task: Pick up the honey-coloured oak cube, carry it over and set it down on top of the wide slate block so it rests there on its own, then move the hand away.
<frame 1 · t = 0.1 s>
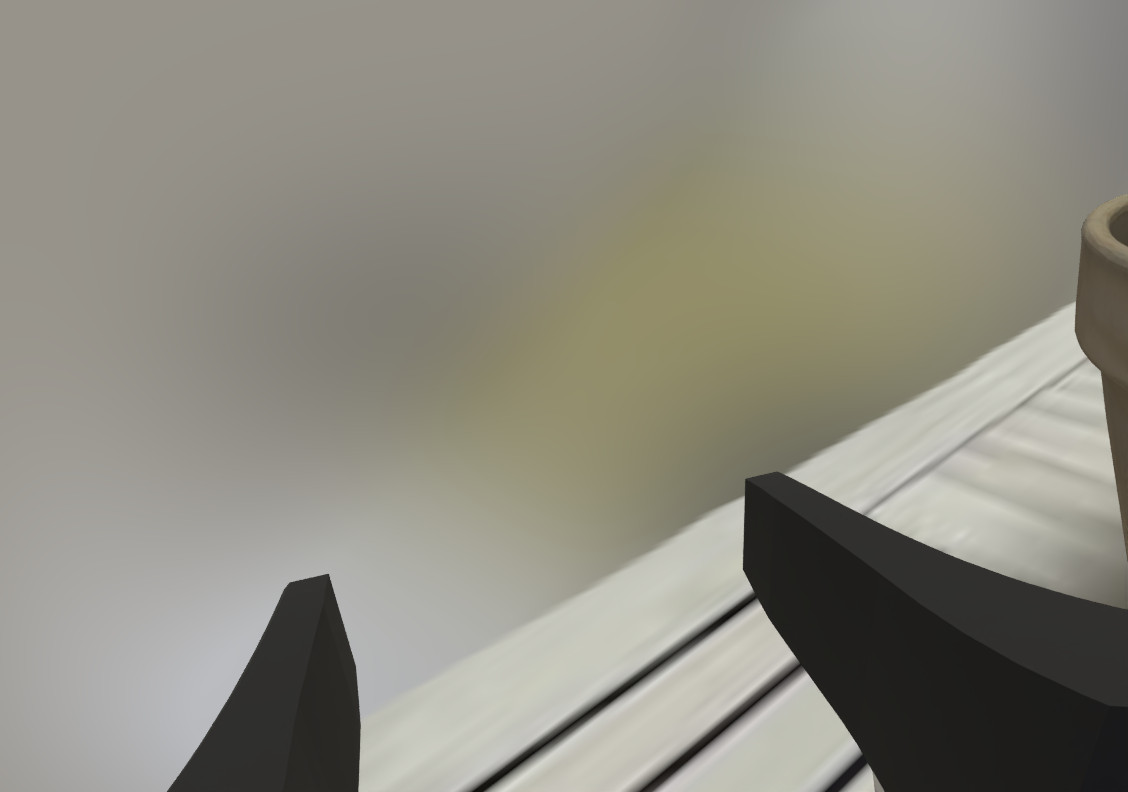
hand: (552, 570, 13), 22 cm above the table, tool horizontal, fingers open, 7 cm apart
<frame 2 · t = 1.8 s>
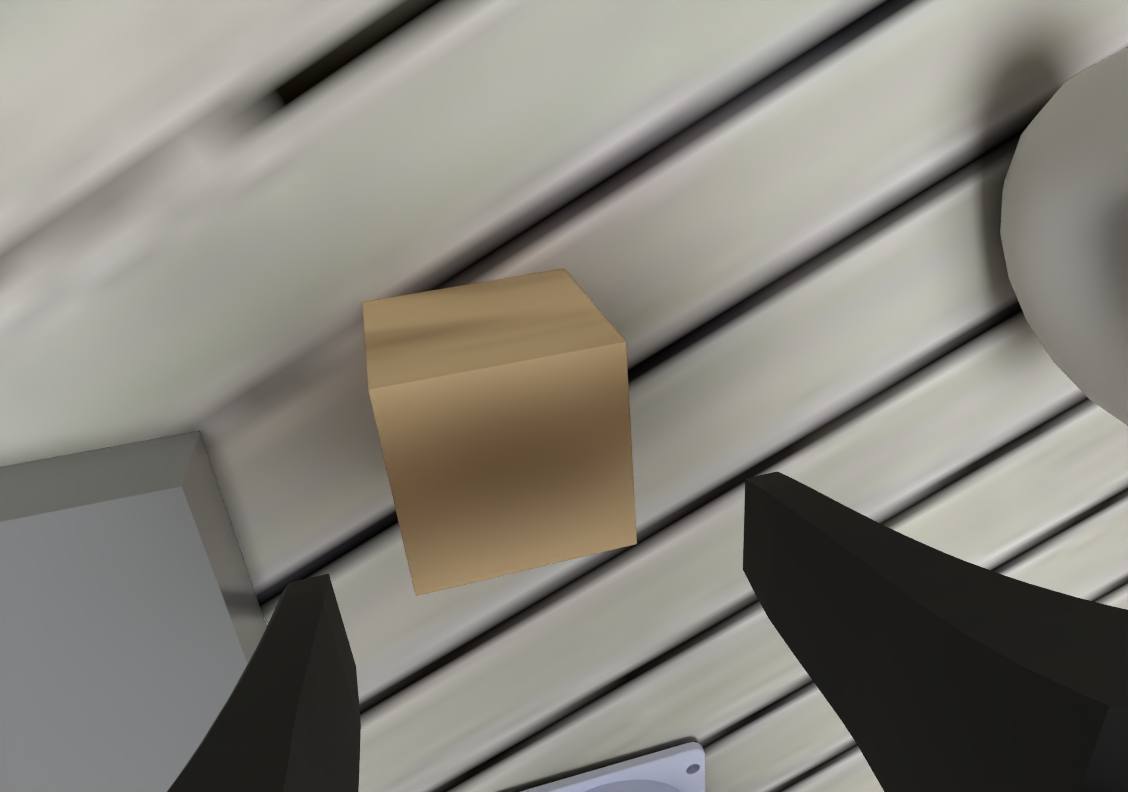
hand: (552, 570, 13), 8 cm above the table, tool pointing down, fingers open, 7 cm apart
slate block: (34, 656, 21), on the table
donut: (1017, 207, 22), on the table
oak cube: (478, 374, 20), on the table
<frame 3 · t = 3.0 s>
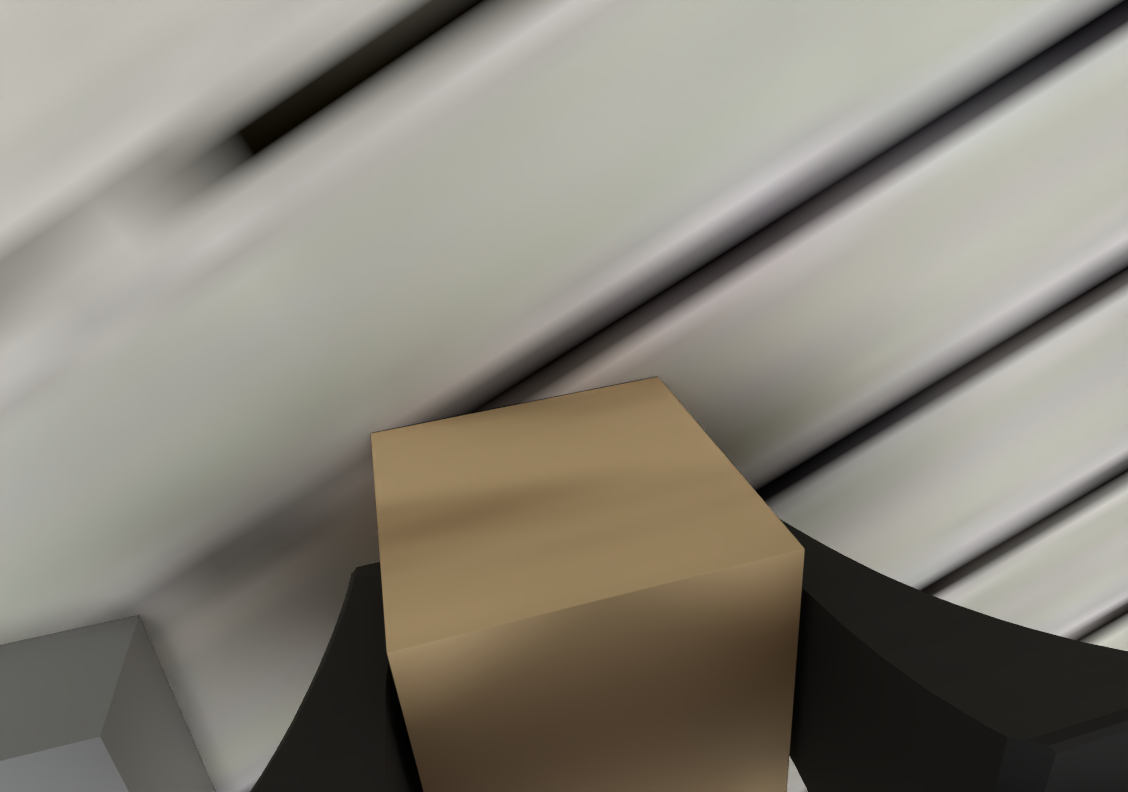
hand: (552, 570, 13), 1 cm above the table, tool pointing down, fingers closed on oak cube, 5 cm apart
oak cube: (534, 522, 14), on the table, touching gripper
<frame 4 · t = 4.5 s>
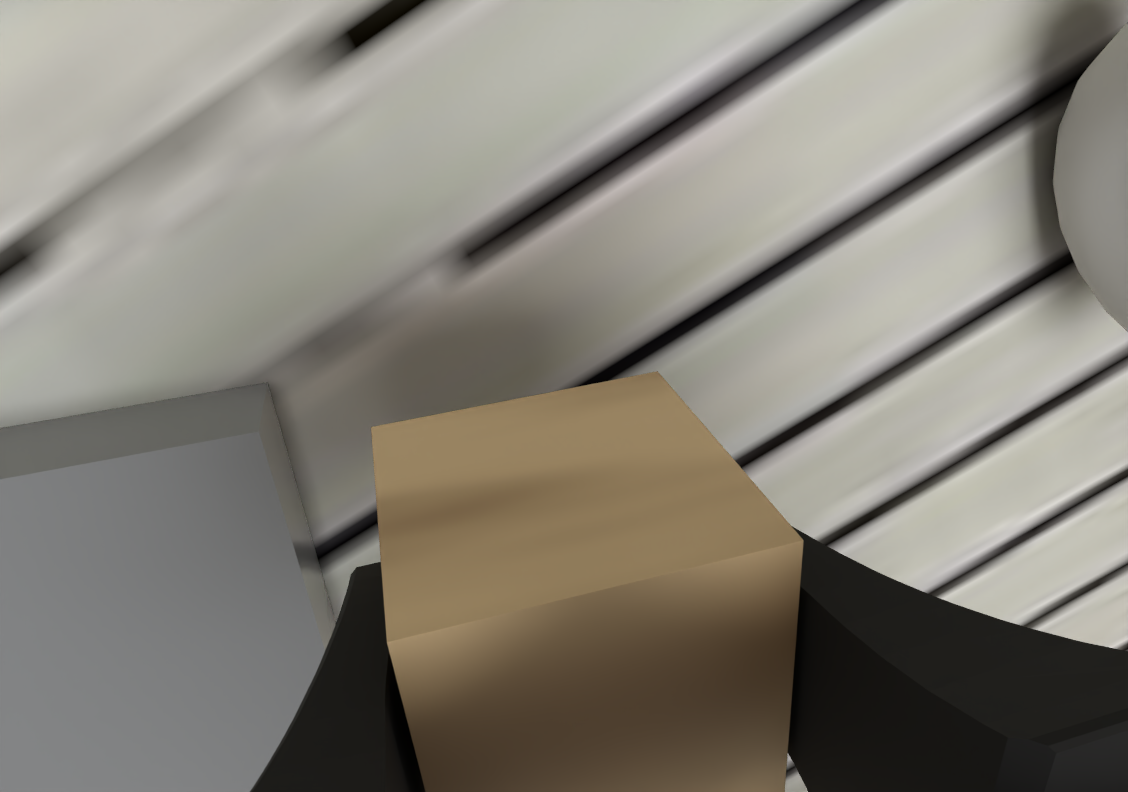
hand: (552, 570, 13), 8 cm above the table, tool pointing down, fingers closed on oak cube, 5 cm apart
slate block: (96, 609, 21), on the table
donut: (1067, 158, 22), on the table
oak cube: (534, 516, 14), point 7 cm above the table, touching gripper
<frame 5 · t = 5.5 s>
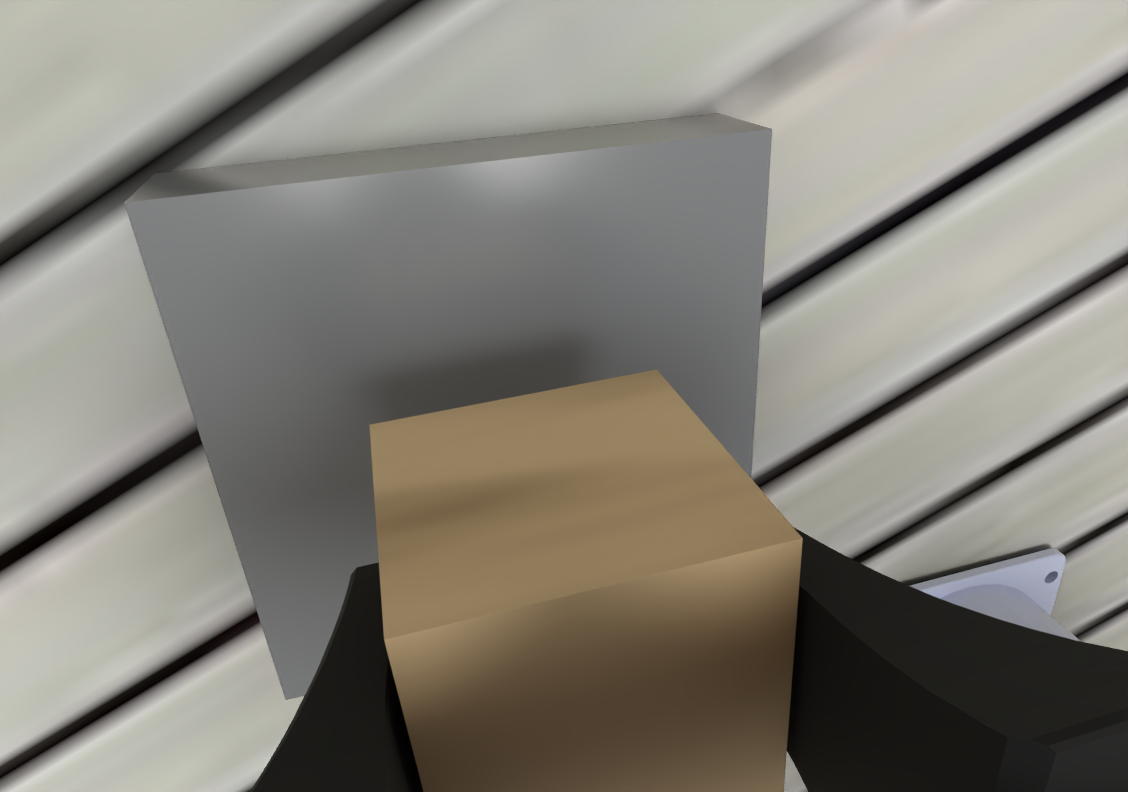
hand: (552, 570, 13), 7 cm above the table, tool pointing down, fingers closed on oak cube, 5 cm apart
slate block: (483, 383, 20), on the table
oak cube: (532, 515, 14), point 6 cm above the table, touching gripper
when the fingers open (6 cm above the table, at t = 6.2 s): oak cube drops 2 cm, point 2 cm above the table.
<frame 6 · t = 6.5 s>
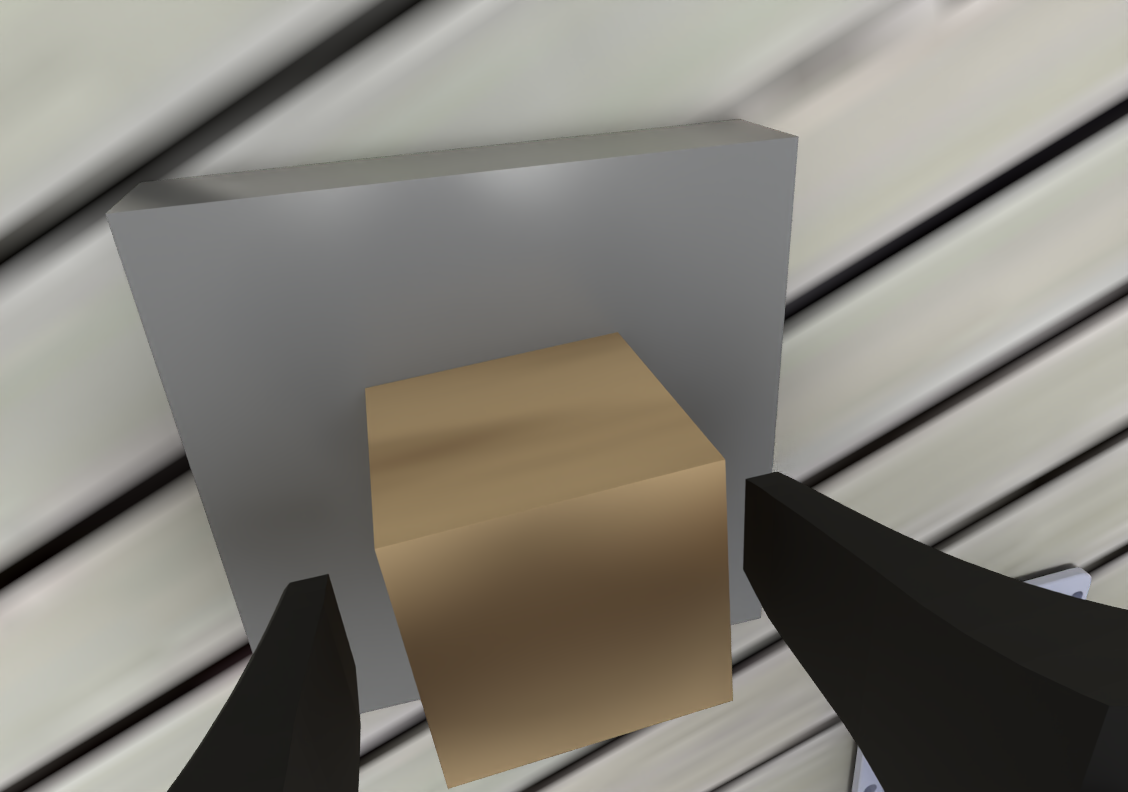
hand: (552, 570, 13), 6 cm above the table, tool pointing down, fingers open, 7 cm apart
slate block: (489, 400, 19), on the table
oak cube: (514, 466, 16), point 2 cm above the table
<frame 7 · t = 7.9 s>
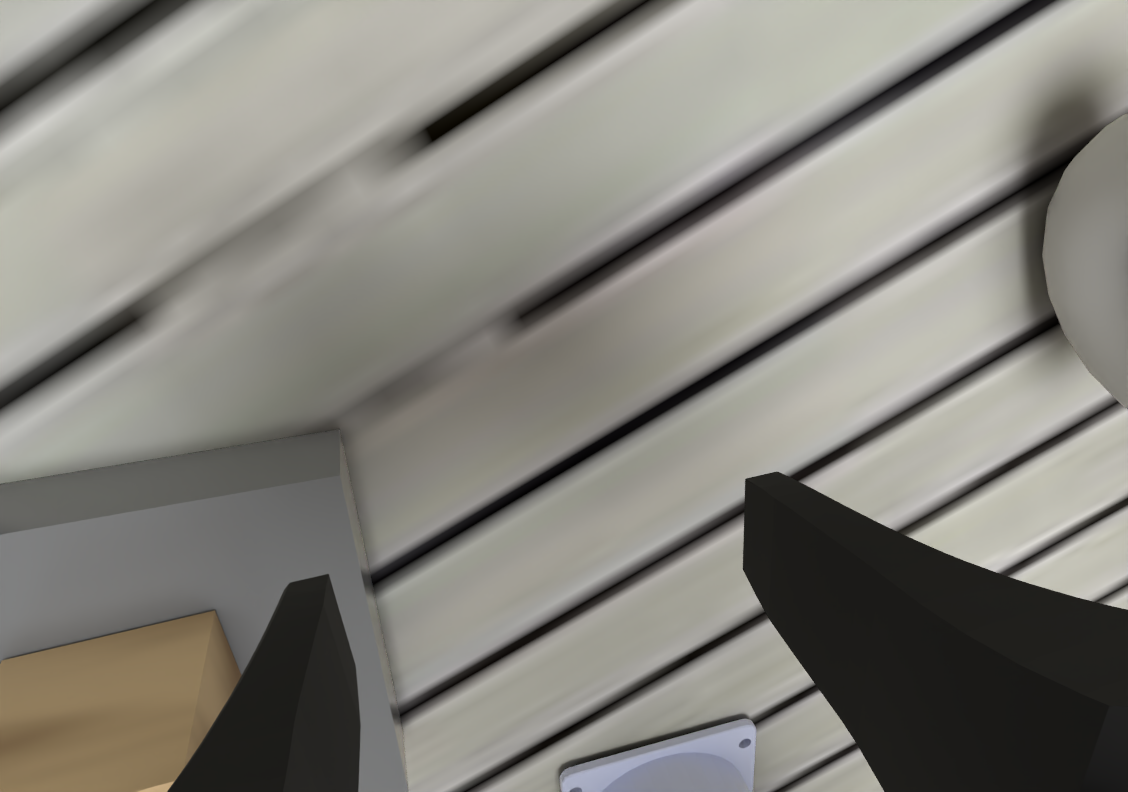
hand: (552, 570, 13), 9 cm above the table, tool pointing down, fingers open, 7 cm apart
slate block: (171, 626, 23), on the table
donut: (1055, 232, 25), on the table
oak cube: (145, 703, 21), point 2 cm above the table
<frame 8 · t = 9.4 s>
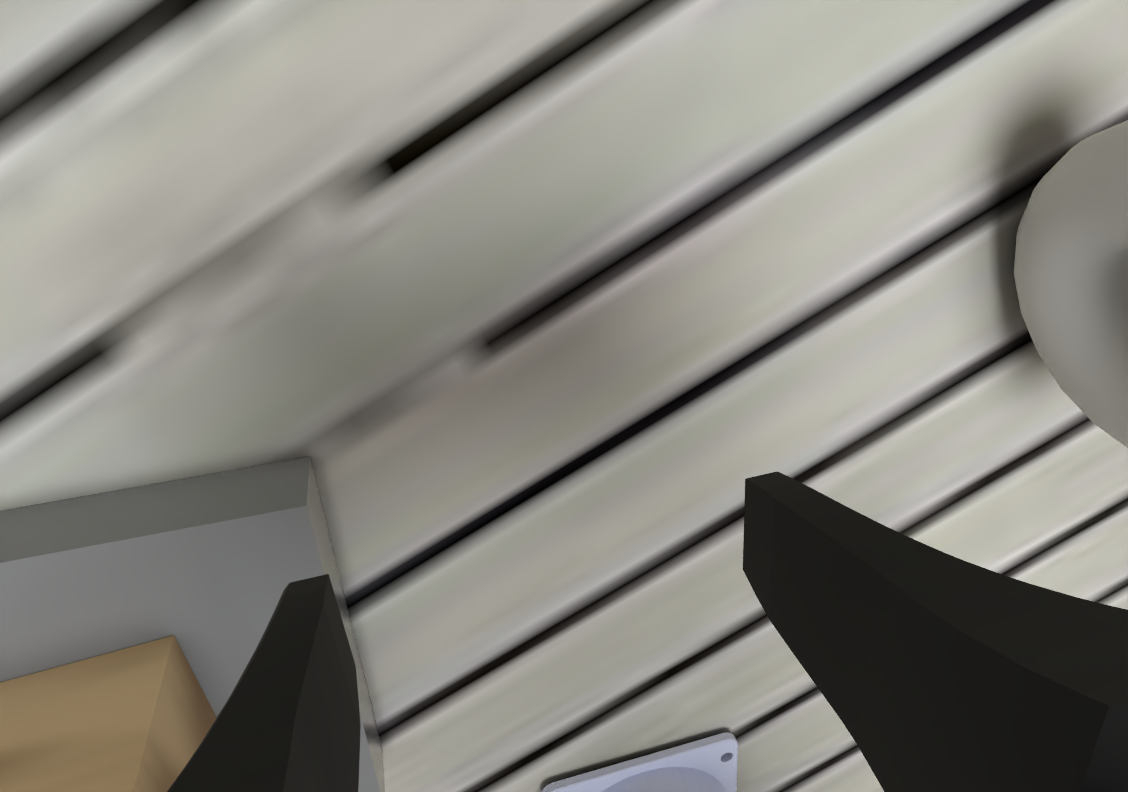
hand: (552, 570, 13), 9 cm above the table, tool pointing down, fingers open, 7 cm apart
slate block: (148, 651, 24), on the table, touching oak cube
donut: (1028, 249, 25), on the table
oak cube: (112, 728, 21), point 2 cm above the table, touching slate block
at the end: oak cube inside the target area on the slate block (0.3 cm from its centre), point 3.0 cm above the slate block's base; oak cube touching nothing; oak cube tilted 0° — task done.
